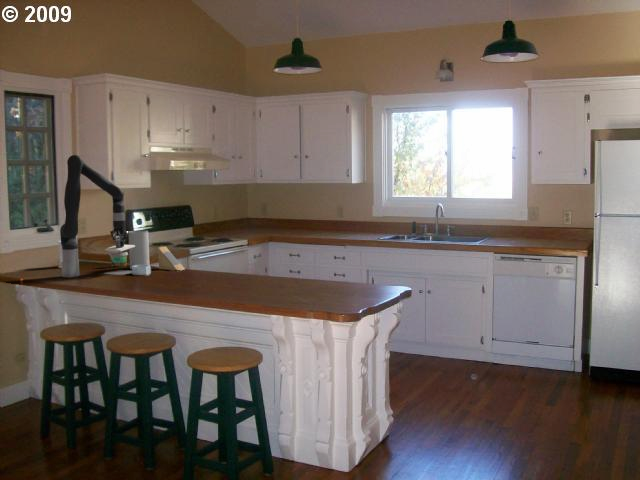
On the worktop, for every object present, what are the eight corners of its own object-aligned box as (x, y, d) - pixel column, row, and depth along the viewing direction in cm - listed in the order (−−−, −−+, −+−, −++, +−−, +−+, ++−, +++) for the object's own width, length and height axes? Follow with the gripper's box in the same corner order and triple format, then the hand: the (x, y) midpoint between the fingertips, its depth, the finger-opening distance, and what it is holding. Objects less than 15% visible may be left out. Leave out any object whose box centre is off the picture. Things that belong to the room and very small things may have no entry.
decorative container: (63, 265, 472) (62, 239, 470) (79, 265, 471) (78, 239, 469) (55, 268, 461) (53, 241, 459) (71, 268, 460) (70, 241, 458)
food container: (109, 268, 458) (108, 253, 457) (109, 267, 464) (109, 252, 463) (128, 267, 461) (127, 252, 460) (128, 266, 467) (127, 251, 466)
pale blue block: (142, 276, 422) (142, 267, 421) (128, 275, 427) (128, 266, 426) (154, 273, 432) (154, 265, 431) (140, 272, 437) (140, 264, 436)
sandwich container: (178, 271, 442) (177, 248, 441) (158, 270, 448) (157, 247, 447) (185, 269, 450) (185, 246, 449) (166, 268, 456) (165, 246, 455)
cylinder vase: (143, 267, 462) (141, 230, 459) (153, 268, 453) (151, 231, 450) (126, 269, 453) (125, 231, 450) (136, 271, 444) (135, 232, 442)
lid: (120, 251, 425) (119, 242, 424) (105, 250, 431) (103, 242, 430) (134, 246, 437) (133, 238, 436) (119, 245, 442) (118, 237, 441)
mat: (121, 275, 425) (121, 274, 425) (102, 274, 432) (102, 273, 432) (139, 272, 439) (139, 271, 439) (120, 270, 446) (120, 269, 446)
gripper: (106, 219, 432) (107, 247, 434) (123, 220, 425) (124, 248, 427) (114, 219, 438) (115, 245, 440) (131, 219, 432) (132, 246, 434)
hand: (120, 246), depth 434 cm, fingers closed on lid, 3 cm apart
